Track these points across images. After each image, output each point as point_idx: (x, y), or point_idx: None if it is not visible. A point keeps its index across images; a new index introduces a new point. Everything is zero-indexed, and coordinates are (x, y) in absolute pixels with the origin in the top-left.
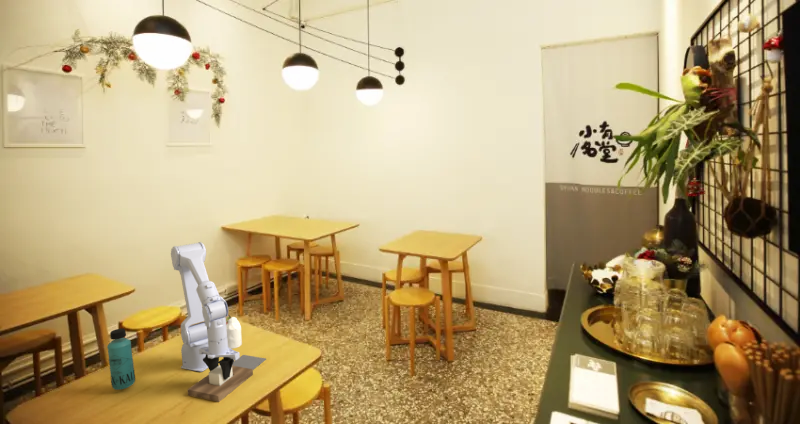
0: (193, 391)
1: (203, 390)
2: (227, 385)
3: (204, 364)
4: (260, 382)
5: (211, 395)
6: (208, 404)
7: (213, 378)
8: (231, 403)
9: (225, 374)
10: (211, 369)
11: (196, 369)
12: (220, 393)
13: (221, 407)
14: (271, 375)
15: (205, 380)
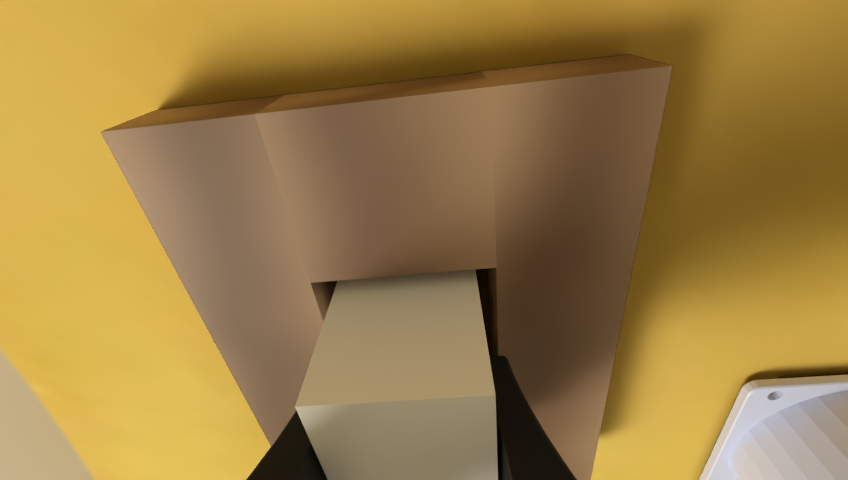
0: (543, 76)
1: (406, 144)
2: (244, 314)
3: (775, 450)
4: (173, 418)
5: (224, 114)
6: (207, 15)
7: (410, 338)
8: (23, 145)
9: (289, 427)
10: (505, 453)
11: (821, 389)
12: (137, 181)
13: (14, 39)
14: (197, 476)
15: (563, 298)
